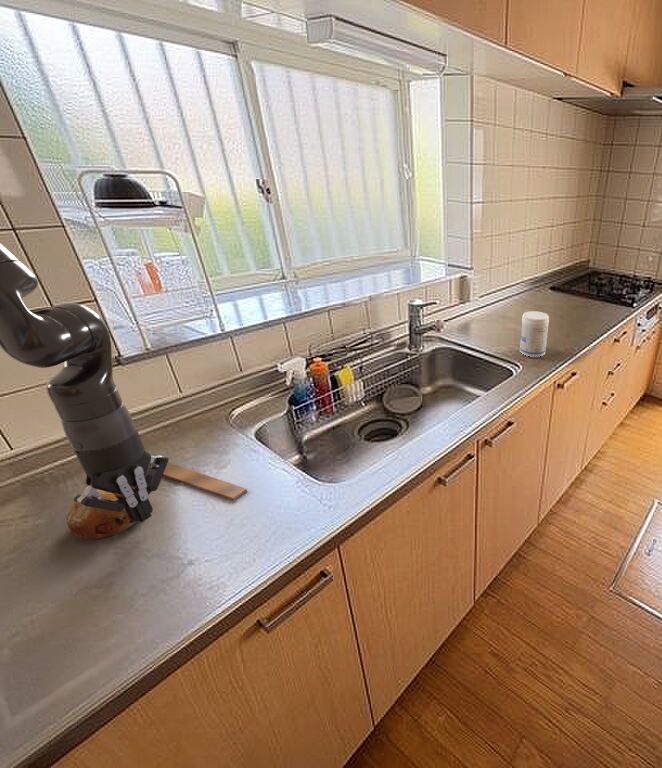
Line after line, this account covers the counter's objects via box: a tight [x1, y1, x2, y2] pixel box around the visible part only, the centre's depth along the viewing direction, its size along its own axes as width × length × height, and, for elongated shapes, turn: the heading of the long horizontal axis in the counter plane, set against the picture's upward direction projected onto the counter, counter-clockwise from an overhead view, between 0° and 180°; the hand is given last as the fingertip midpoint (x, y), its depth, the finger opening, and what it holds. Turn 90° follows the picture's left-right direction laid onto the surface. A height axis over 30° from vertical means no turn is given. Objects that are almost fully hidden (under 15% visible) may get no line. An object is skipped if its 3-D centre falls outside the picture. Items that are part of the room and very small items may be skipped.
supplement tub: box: [519, 310, 550, 359], centre depth 150 cm, size 10×10×15 cm
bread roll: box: [66, 489, 138, 540], centre depth 74 cm, size 10×10×8 cm
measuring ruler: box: [162, 461, 248, 502], centre depth 85 cm, size 24×3×1 cm, turn 71°
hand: (143, 518), depth 73 cm, fingers closed
